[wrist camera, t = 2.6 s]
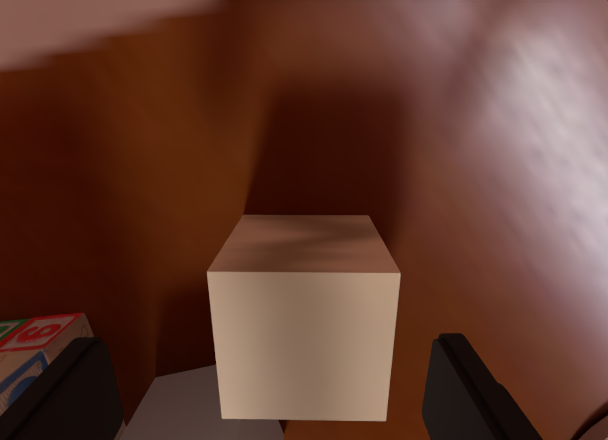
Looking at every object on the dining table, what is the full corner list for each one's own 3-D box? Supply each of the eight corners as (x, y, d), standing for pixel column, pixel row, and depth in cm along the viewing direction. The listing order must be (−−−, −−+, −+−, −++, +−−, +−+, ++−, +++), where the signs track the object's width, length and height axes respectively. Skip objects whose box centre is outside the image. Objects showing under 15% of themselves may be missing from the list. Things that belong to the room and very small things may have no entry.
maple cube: (368, 214, 16) (400, 273, 10) (361, 321, 18) (385, 421, 12) (243, 214, 16) (206, 271, 10) (250, 320, 18) (221, 418, 12)
